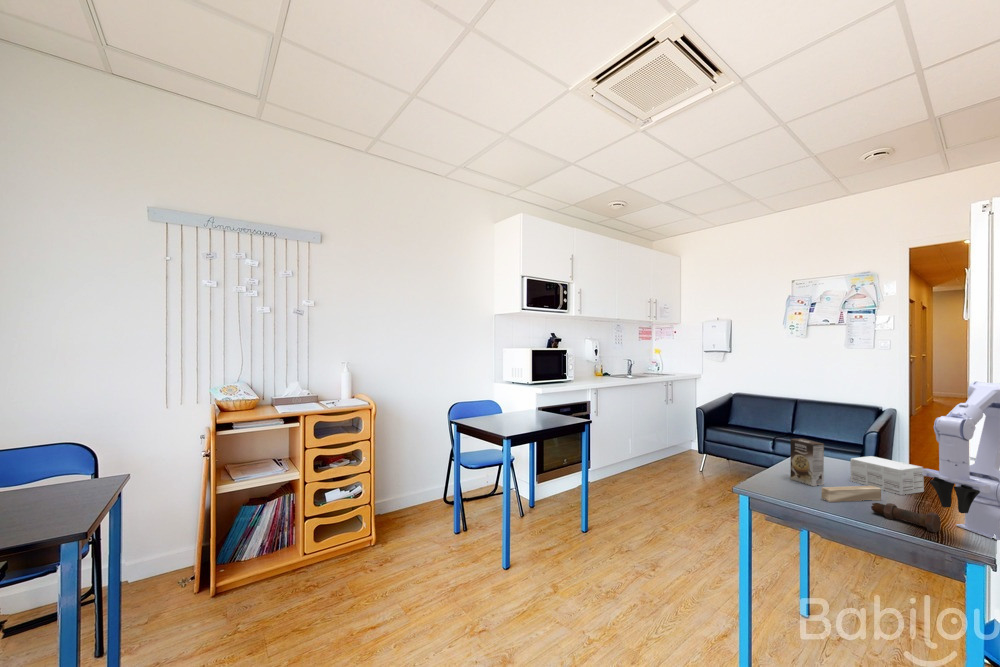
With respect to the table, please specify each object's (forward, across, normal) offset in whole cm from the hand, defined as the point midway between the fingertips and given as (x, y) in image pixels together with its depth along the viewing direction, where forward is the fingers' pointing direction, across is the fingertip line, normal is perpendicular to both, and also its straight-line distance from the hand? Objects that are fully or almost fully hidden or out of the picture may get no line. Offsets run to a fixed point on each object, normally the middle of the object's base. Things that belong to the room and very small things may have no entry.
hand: (954, 509), depth 117 cm
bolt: (+9, -12, -1) cm, 15 cm away
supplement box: (+9, -42, +27) cm, 51 cm away
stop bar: (+8, -30, 0) cm, 32 cm away
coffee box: (+9, -49, 0) cm, 50 cm away
